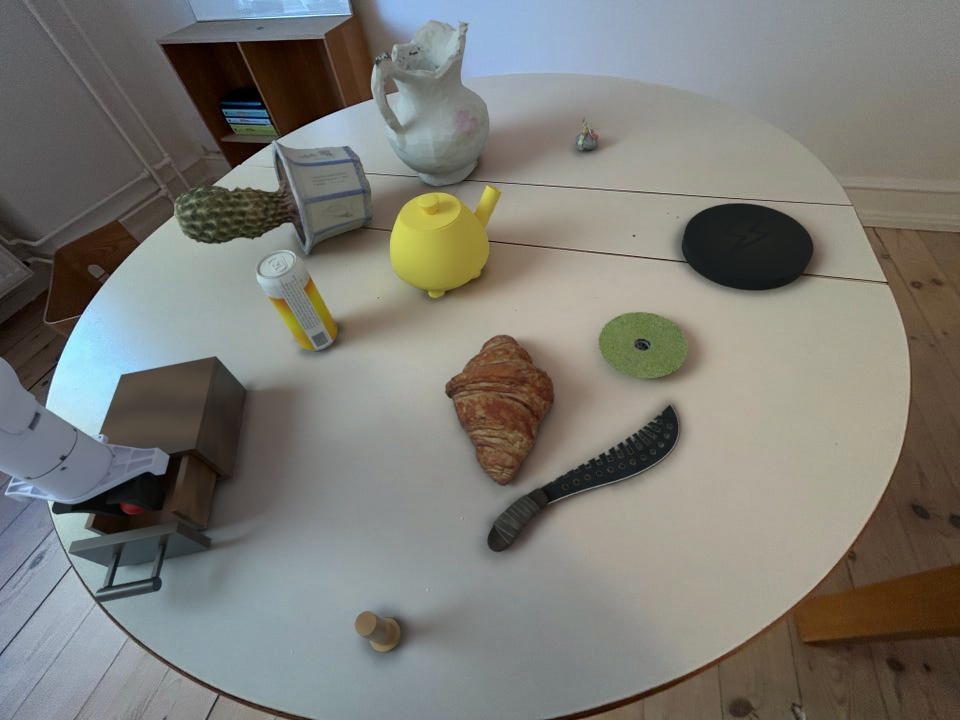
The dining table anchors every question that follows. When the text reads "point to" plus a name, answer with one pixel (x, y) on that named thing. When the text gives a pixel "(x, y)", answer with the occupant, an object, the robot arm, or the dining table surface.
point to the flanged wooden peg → (378, 630)
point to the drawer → (153, 529)
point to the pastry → (501, 404)
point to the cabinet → (180, 412)
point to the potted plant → (284, 200)
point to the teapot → (441, 241)
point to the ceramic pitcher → (432, 105)
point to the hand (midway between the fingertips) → (144, 505)
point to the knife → (539, 498)
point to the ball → (131, 509)
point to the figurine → (586, 138)
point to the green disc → (643, 345)
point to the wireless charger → (747, 246)
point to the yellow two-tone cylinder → (296, 299)
